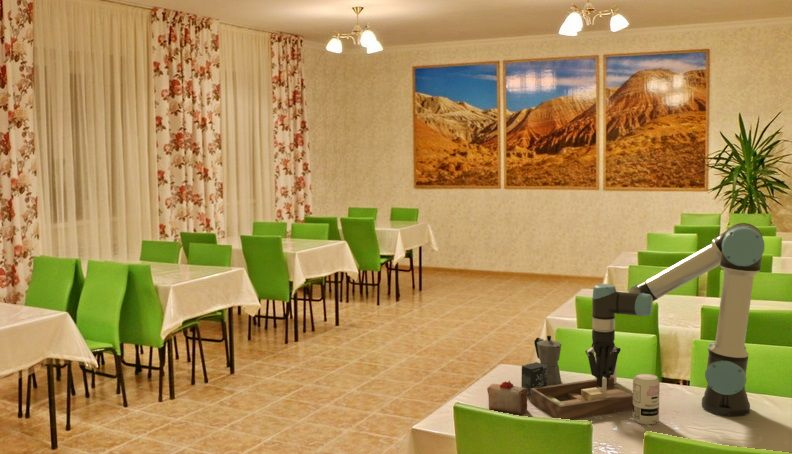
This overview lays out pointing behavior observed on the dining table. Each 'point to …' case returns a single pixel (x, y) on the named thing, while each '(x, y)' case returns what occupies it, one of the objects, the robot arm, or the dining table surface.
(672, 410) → the dining table surface
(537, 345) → the coffeepot
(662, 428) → the dining table surface
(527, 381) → the box
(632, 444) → the dining table surface
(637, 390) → the supplement can
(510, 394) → the food item
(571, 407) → the divided wooden tray
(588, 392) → the block
